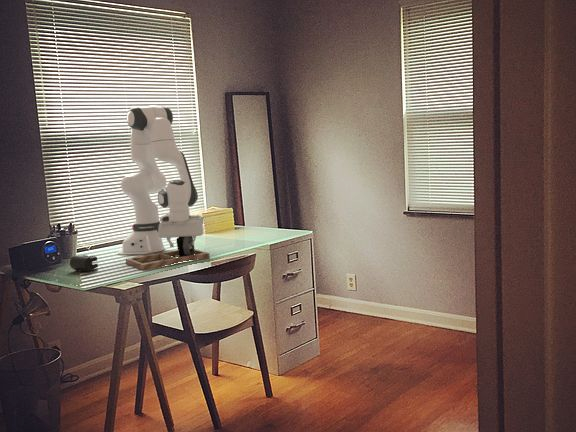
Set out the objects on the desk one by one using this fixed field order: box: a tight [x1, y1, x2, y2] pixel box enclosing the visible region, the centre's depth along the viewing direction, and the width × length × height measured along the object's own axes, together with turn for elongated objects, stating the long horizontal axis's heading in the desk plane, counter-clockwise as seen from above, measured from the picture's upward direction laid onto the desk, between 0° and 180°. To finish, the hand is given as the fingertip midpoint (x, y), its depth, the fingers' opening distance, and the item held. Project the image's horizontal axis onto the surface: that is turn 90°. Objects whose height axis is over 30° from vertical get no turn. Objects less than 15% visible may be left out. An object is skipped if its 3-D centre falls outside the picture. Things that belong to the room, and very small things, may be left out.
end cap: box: [69, 254, 99, 273], centre depth 266 cm, size 10×7×7 cm
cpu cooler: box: [176, 236, 196, 257], centre depth 281 cm, size 10×6×10 cm, turn 175°
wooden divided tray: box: [125, 248, 211, 271], centre depth 277 cm, size 32×20×2 cm, turn 125°
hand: (182, 246), depth 281 cm, fingers open, 8 cm apart
